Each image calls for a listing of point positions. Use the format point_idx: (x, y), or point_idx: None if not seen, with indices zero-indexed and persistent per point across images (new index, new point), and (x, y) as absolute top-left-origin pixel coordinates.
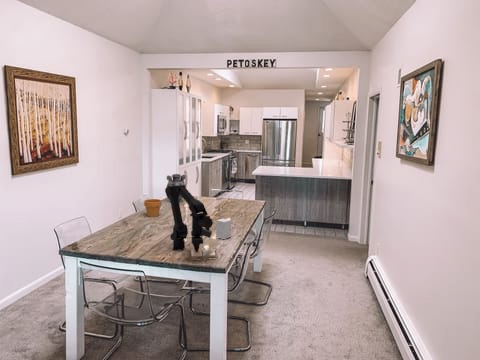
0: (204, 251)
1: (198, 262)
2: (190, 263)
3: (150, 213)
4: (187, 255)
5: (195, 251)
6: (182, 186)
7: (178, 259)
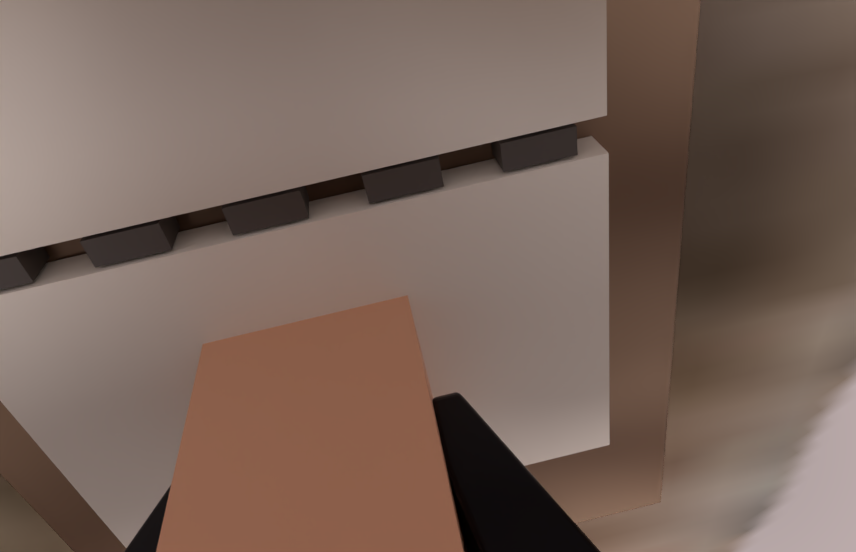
0: (71, 144)
1: (831, 156)
2: (839, 321)
3: None
4: None
5: None
6: None
7: None
